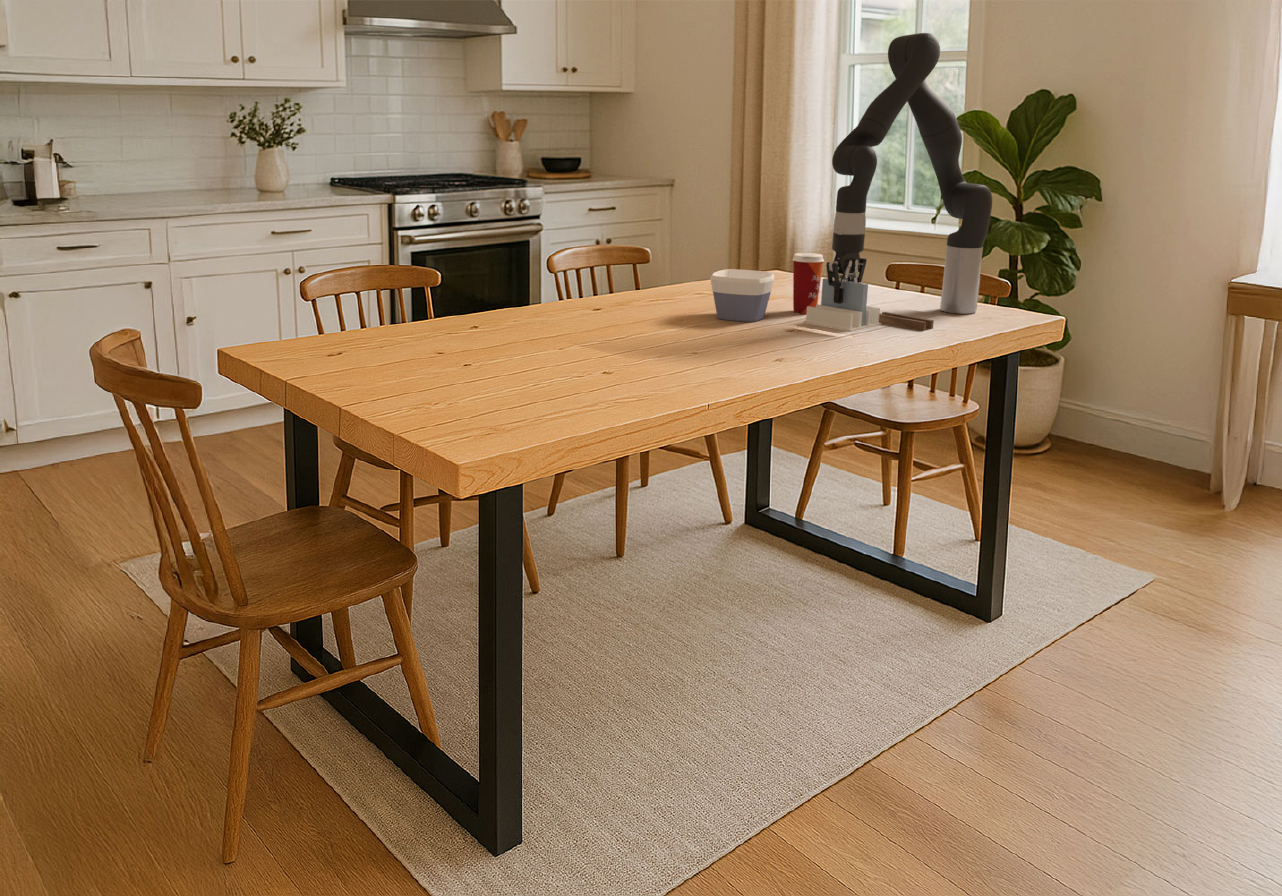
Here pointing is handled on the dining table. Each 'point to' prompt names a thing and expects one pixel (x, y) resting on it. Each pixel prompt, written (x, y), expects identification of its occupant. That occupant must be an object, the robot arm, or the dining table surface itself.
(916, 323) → the stand
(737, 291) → the bowl
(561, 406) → the dining table surface
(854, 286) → the grey-blue flat slab
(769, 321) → the dining table surface
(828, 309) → the rack
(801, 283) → the coffee cup
